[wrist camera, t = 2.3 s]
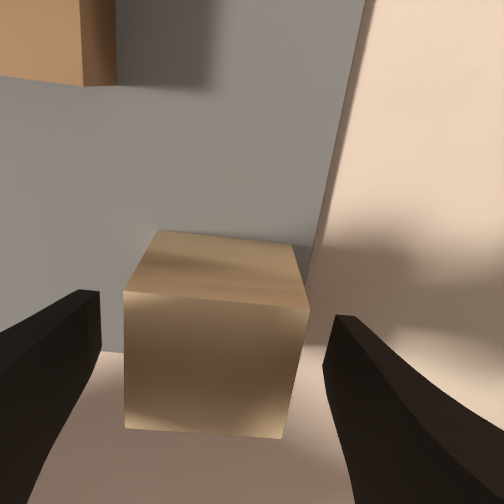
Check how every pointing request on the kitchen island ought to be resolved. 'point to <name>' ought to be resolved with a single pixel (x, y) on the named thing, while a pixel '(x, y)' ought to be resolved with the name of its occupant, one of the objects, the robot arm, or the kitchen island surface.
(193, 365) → the maple block
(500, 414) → the kitchen island surface
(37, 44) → the walnut slab
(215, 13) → the mat
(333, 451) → the kitchen island surface
